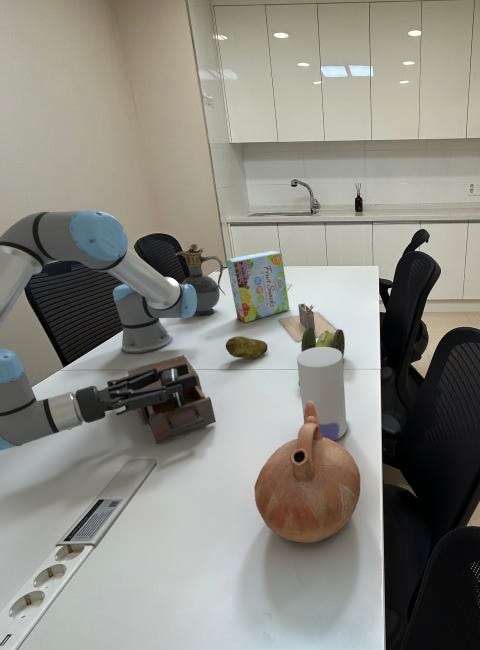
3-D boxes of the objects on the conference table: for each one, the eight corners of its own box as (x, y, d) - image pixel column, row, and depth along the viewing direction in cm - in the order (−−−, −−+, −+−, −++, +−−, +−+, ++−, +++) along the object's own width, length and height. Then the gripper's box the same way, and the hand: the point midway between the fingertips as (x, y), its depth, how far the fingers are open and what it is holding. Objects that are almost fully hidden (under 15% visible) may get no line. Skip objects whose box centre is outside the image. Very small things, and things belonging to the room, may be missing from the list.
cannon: (325, 393, 109) (322, 357, 104) (285, 389, 111) (280, 354, 106) (347, 353, 131) (346, 322, 126) (314, 351, 133) (311, 320, 129)
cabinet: (204, 402, 106) (198, 375, 102) (145, 423, 98) (136, 394, 94) (189, 380, 117) (183, 355, 114) (135, 397, 109) (127, 370, 106)
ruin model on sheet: (338, 332, 148) (336, 308, 144) (296, 341, 141) (294, 316, 137) (316, 313, 168) (314, 291, 165) (279, 319, 162) (276, 297, 158)
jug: (276, 477, 79) (263, 394, 71) (364, 477, 79) (360, 394, 71) (247, 561, 63) (225, 465, 55) (358, 562, 62) (353, 465, 54)
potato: (268, 360, 128) (264, 338, 124) (227, 365, 125) (222, 343, 122) (268, 350, 135) (265, 329, 132) (230, 354, 133) (226, 333, 130)
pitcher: (184, 312, 173) (168, 244, 161) (228, 304, 181) (216, 240, 169) (186, 319, 164) (169, 249, 152) (232, 311, 172) (220, 243, 160)
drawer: (222, 431, 92) (216, 407, 90) (160, 455, 85) (153, 430, 82) (199, 397, 107) (194, 375, 104) (145, 415, 99) (138, 392, 96)
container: (352, 421, 96) (349, 349, 88) (336, 446, 88) (330, 369, 80) (316, 414, 99) (309, 343, 91) (297, 438, 91) (288, 362, 83)
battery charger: (170, 408, 99) (159, 369, 94) (186, 404, 100) (176, 365, 96) (170, 423, 93) (158, 381, 89) (187, 418, 95) (177, 377, 90)
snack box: (280, 305, 178) (273, 249, 168) (290, 310, 173) (283, 252, 162) (235, 318, 165) (224, 258, 155) (244, 323, 159) (234, 261, 149)
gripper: (82, 402, 92) (184, 372, 104) (88, 445, 77) (206, 404, 90) (71, 374, 89) (178, 347, 101) (75, 414, 74) (199, 376, 87)
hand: (191, 374), depth 96 cm, fingers closed on battery charger, 7 cm apart
